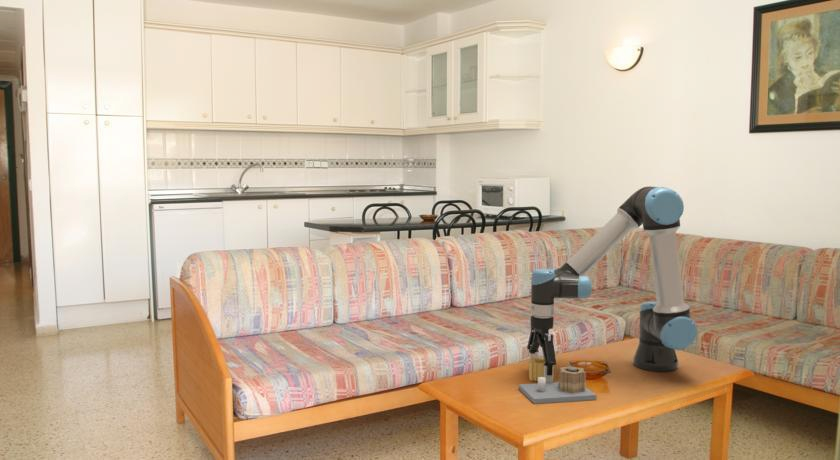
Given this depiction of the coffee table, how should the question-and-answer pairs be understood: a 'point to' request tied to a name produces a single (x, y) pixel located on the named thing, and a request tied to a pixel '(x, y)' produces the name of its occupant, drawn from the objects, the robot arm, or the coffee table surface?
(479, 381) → the coffee table surface
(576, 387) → the gear
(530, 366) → the ochre gear
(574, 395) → the gear board
